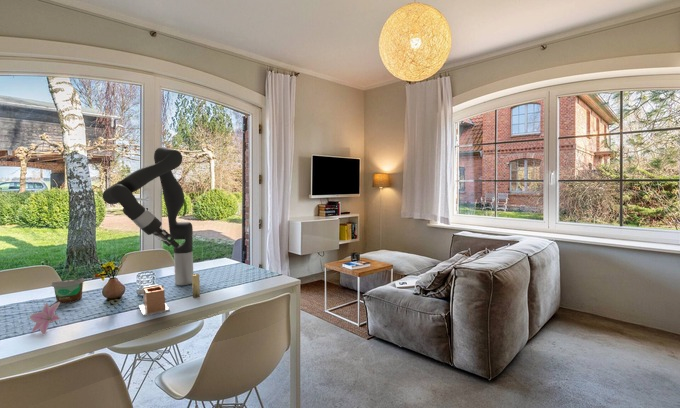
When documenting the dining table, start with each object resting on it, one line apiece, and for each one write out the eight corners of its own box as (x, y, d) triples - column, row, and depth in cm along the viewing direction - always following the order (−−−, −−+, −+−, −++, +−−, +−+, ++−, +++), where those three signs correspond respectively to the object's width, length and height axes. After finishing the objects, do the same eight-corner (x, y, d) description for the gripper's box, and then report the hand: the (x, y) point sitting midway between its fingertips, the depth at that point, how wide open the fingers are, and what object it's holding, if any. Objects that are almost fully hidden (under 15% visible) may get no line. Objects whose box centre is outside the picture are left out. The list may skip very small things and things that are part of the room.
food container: (49, 306, 156) (47, 284, 155) (53, 301, 161) (51, 280, 160) (83, 301, 162) (81, 280, 161) (85, 297, 167) (84, 277, 166)
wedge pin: (192, 296, 168) (191, 274, 167) (198, 295, 169) (198, 273, 169) (193, 298, 165) (193, 276, 164) (200, 297, 167) (200, 274, 166)
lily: (31, 329, 135) (18, 313, 129) (65, 310, 142) (54, 294, 137) (41, 346, 128) (28, 330, 123) (76, 325, 136) (65, 309, 130)
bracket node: (138, 307, 154) (137, 286, 154) (163, 302, 161) (162, 282, 160) (143, 316, 144) (142, 294, 143) (169, 310, 150) (168, 289, 149)
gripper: (159, 216, 147) (186, 241, 156) (148, 214, 157) (174, 238, 166) (145, 229, 144) (174, 254, 152) (135, 226, 154) (162, 250, 162)
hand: (174, 245), depth 159 cm, fingers open, 8 cm apart
